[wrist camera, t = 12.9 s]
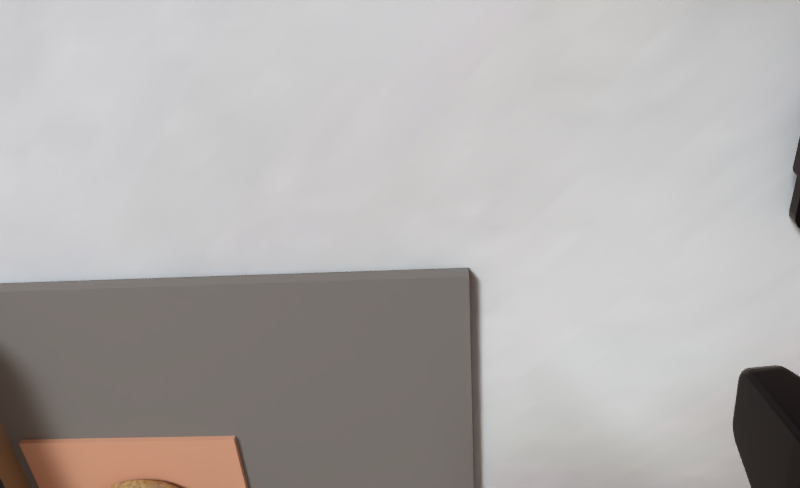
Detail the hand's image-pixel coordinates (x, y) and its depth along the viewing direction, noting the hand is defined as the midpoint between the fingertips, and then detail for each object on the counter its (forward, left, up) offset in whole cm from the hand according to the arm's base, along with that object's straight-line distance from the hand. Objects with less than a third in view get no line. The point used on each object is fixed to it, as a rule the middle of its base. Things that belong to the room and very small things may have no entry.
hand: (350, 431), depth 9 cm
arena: (+7, +14, -13) cm, 20 cm away
